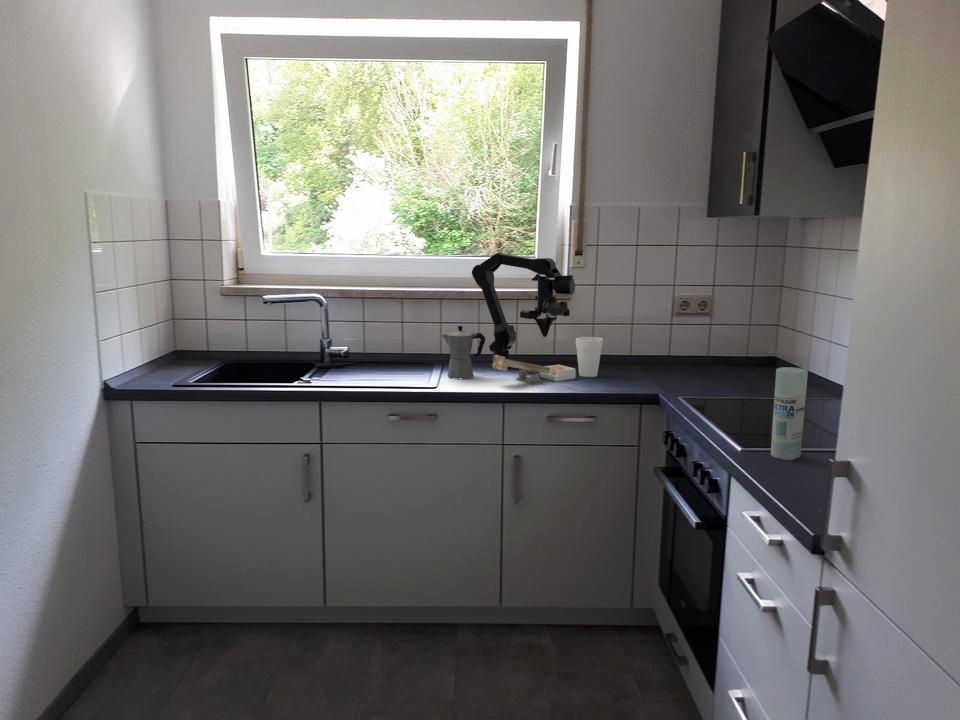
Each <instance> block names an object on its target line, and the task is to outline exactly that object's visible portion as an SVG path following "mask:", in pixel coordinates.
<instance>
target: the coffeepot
mask: <svg viewBox="0 0 960 720" xmlns="http://www.w3.org/2000/svg"><path fill="white" fill-rule="evenodd" d="M441 337H442V338H443V339H444V341H445V342H446V344H447V345H448V350H449V353H450V358H449V363H448V370H447V377H448V378H449V377H450V378H449V379H452V378H458V379H457V380H460V379H459V378H469V379H471V378H470V377H472V378H473V377H474V371H473V365H472V360H471V353H472V349H473V342H474V339H480V341H479V342H478V343H479V345H478V346H477V347H478V348H477V353H473V355H474V357H480V356H481V354H482V350H483V347H484V345H485V343H486V336H485V335H483V333H482V332H468V331H464V330H463V325H458V326H457V331H452V332H447V333H443V334H442V335H441Z"/></svg>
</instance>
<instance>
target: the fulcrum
mask: <svg viewBox="0 0 960 720" xmlns="http://www.w3.org/2000/svg"><path fill="white" fill-rule="evenodd" d="M539 376H540V372H537V373H534V372H533V373H531V374H530V377H528V376H527V370H523V369H519V370H518V377H516V378H515V379H516V380H515V381H519V382H521V383H522V382H523V383H526V384H529V385H536V384H543V381H542V380H540V379H539V378H540V377H539Z"/></svg>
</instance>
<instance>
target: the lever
mask: <svg viewBox="0 0 960 720" xmlns="http://www.w3.org/2000/svg"><path fill="white" fill-rule="evenodd" d="M505 358H506V357H503V356H499V355H495V358H494V363H493V362H492V364H493V366H491V368H492V369H495V370H498V371H499V370H500V371H504V372H507V371H508V370H509V369H508V368H515V369H519V370H526V372H527V371H528V372H531V373H533V374H534V373H540V372H542V373H548V374H549V370H550V368H548V367H544V366H543V365H540V364H535V363H534V364H533V363H529V362H522V361H518V360H513V359H509V360H508V359H505ZM508 366H509V367H508Z"/></svg>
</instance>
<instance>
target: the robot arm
mask: <svg viewBox="0 0 960 720" xmlns="http://www.w3.org/2000/svg"><path fill="white" fill-rule="evenodd" d="M502 265H503V266H510V267H516V268H520V269H526V270H529V271H531V272H532V273H535V275H534V276H533V278H531V281H535V282H537V290H536V291H537V295H535V297H534V299H535V300H536V301H537V304H536V305H537V306H535V308H534V309H530V308H529V309H521V311H520V313H519V318H520V319H526V320H527V319H528V320H535V322H536V324H537V326H538V328H539V330H540V332H541V333H540V334H541V335H542V337H543V338H546V337H547V336H548V334H549V331H550V328H551V326H552V323H554V321H555V320H558V317H556V316H560V317H561V316H562V317H569V316H570V315H571V314H570V312H571V311H570V309H569V308H568V302H567V301H565V300H564V301H557V298H556V296H554V292H555V293H556V294H557V295H569V296H570V295H574V293H575V290H576V283H575V280H574V276H573V274H568V275H567V274H566V275H562V274H561V272H560V271H559V269H558V268H557V265H556V262H555V260H554V259H553V258H551V257H542V258H541V257H539V258H538V257H537V258H531V257H525V256H519V255H512V254H508V253H507V254H506V253H504V252H495V253H494V254H492V255H491V256H490V257H488V259H486V260H485V261H483V262H482V263H480V264H476V265H475V266H474V267H472V270H471V276H472V278H473V279H474V281H475V283H476V285H477V286H478V287H479V288H480V289H481V290H482V294H483V297H484V300H485V303H486V306H487V308H488V311H489V314H490V318H491V320H492V323H493V326H494V328H493V336H494V340H493V341H492V342H491V343H490V344H489V345H488V347H489V351H490V352H491V353H492V364H491V363H490V364H489V367H492V366H493V363H494V358H495V355H499V356H503V357H506V358H505V359H508V360H510V351H509V350H511V349H512V347H513V345H514V344H515V343H516V341H517V335H518V333H517V332H516V329H515V326H514V324H509V323H508V322H507V320H506V316H505V315H504V311H503V308H502V305H501V302H500V300H499V297H498V294H497V291H496V287H495V274H494V272H496V271H497V270H498V269H499V268H500V267H501V266H502ZM508 368H510V367H509V366H508Z"/></svg>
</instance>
